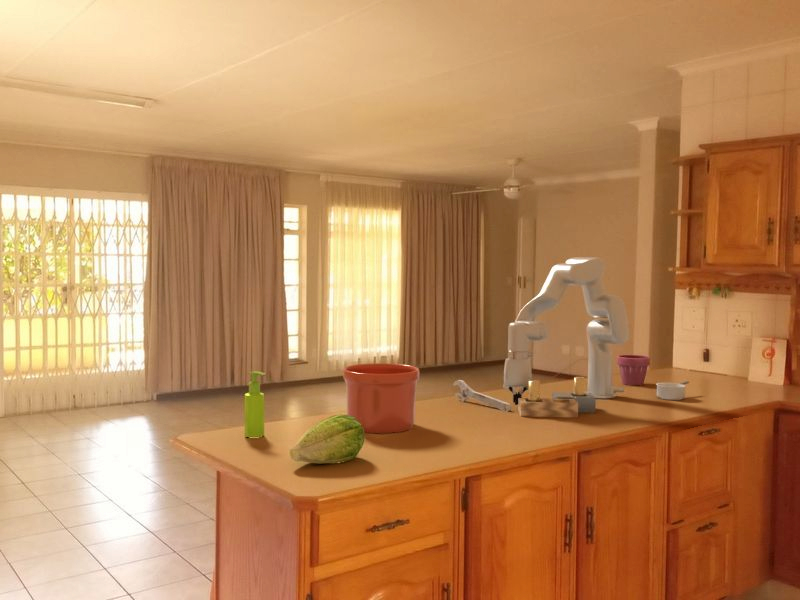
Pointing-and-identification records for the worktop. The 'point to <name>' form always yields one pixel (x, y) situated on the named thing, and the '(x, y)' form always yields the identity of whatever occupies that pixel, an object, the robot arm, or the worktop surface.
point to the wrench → (479, 396)
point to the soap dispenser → (254, 408)
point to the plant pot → (633, 368)
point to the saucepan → (671, 390)
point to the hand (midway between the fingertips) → (517, 404)
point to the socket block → (578, 400)
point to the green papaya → (330, 441)
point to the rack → (548, 408)
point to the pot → (381, 396)
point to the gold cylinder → (579, 386)
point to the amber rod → (533, 390)
